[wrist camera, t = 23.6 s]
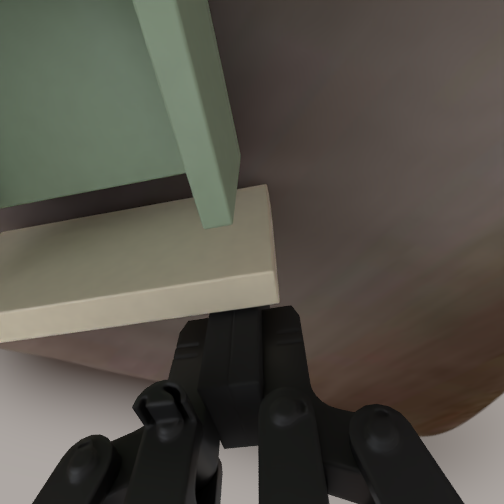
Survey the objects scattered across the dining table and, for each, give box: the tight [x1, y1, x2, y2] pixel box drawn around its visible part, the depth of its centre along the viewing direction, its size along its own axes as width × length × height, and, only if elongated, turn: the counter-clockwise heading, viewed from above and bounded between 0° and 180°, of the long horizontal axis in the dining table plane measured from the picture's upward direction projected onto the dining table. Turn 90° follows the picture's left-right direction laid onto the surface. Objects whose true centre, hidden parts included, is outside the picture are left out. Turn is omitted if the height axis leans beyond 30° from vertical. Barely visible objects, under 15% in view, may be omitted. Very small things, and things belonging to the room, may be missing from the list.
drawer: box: [0, 0, 280, 343], centre depth 9 cm, size 16×13×6 cm
